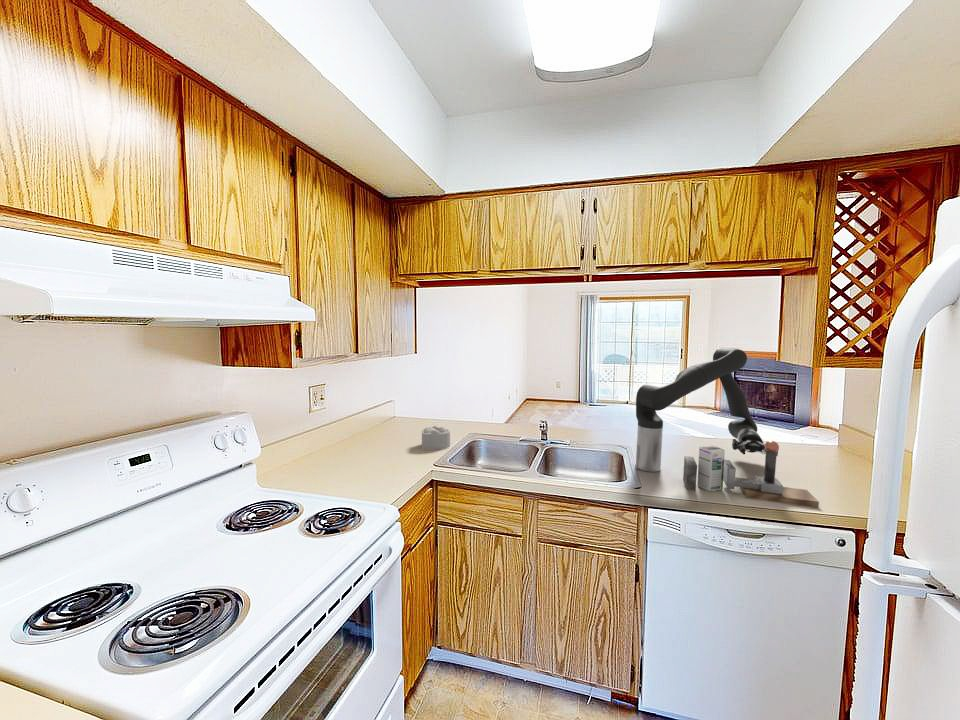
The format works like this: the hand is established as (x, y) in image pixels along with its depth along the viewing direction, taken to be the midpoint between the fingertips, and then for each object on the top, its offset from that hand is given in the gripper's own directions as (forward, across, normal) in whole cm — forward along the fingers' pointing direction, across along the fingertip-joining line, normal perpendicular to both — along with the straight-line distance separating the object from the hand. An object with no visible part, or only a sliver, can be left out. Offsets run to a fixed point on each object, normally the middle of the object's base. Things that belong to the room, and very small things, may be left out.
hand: (758, 453), depth 151 cm
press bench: (+12, -4, +11) cm, 16 cm away
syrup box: (+12, -16, +11) cm, 23 cm away
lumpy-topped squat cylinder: (+12, -127, +16) cm, 128 cm away
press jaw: (+12, -3, +8) cm, 15 cm away
